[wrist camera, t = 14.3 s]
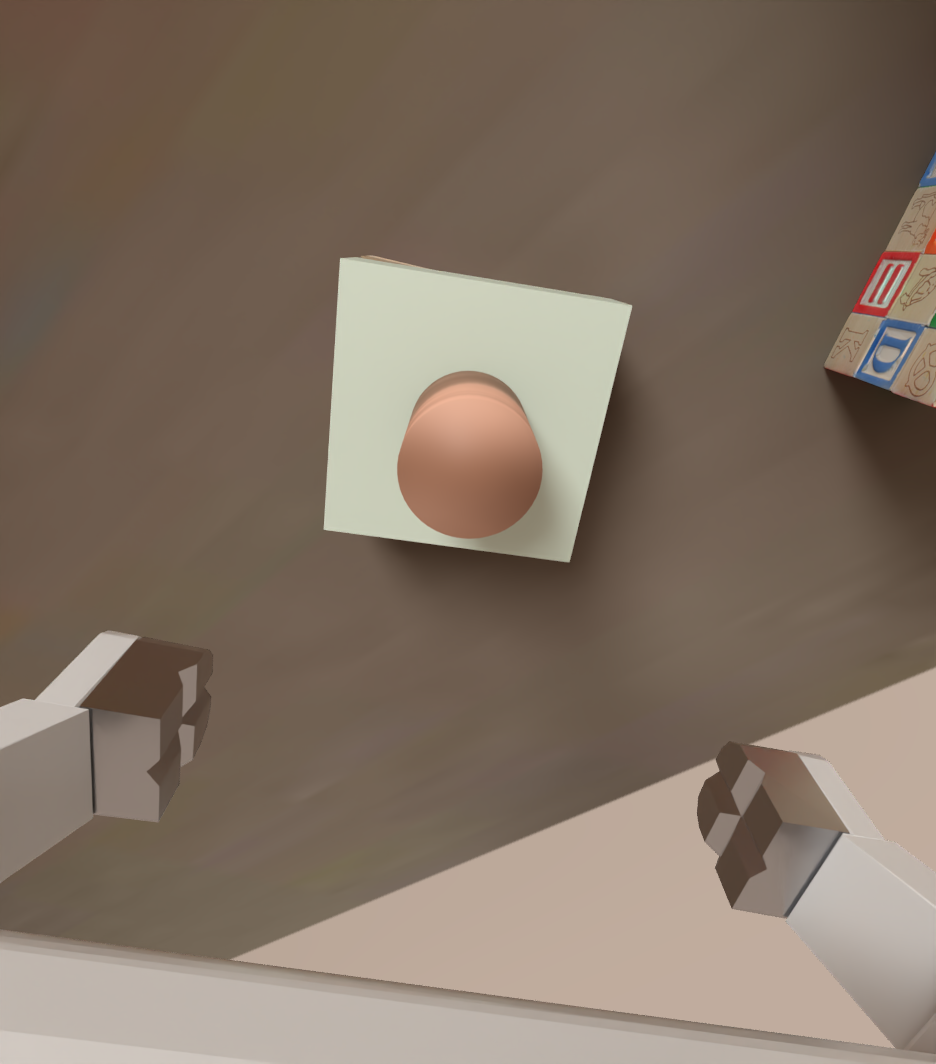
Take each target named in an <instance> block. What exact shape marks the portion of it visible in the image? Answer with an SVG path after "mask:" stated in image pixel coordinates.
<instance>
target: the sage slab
mask: <svg viewBox="0 0 936 1064" xmlns="http://www.w3.org/2000/svg"><path fill="white" fill-rule="evenodd" d="M631 309H632V306H631V305H628V304H625V303H622V302H619V301H616V300H613V299H609V298H603V297H597V296H591V295H585V294H578V293H572V292H566V291H560V290H554V289H548V288H542V287H536V286H529V285H523V284H517V283H511V282H505V281H499V280H493V279H487V278H480V277H474V276H468V275H462V274H456V273H450V272H444V271H437V270H431V269H425V268H419V267H413V266H407V265H401V264H395V263H388V262H382V261H376V260H370V259H364V258H358V257H352V258H340V271H339V287H338V304H337V320H336V337H335V353H334V370H333V386H332V402H331V419H330V435H329V452H328V468H327V485H326V501H325V518H324V530H331V531H338V532H346V533H353V534H361V535H368V536H375V537H383V538H390V539H398V540H405V541H413V542H420V543H428V544H435V545H443V546H450V547H458V548H465V549H472V550H480V551H487V552H495V553H502V554H510V555H517V556H525V557H532V558H540V559H547V560H555V561H562V562H570V558H571V554H572V550H573V546H574V542H575V538H576V534H577V530H578V525H579V521H580V517H581V513H582V509H583V505H584V501H585V497H586V493H587V489H588V485H589V481H590V476H591V472H592V468H593V464H594V460H595V456H596V452H597V448H598V444H599V440H600V436H601V431H602V427H603V423H604V419H605V415H606V411H607V407H608V403H609V399H610V395H611V391H612V387H613V382H614V378H615V374H616V370H617V366H618V362H619V358H620V354H621V350H622V346H623V342H624V338H625V333H626V329H627V325H628V321H629V317H630V313H631ZM459 371H477V372H483V373H486V374H489V375H492V376H494V377H496V378H498V379H499V380H501V381H502V382H504V383H505V384H506V385H507V386H509V387H510V388H511V389H512V391H513V392H514V393H515V394H516V396H517V397H518V399H519V400H520V402H521V405H522V407H523V409H524V411H525V414H526V416H527V419H528V421H529V424H530V426H531V429H532V431H533V433H534V436H535V438H536V441H537V443H538V446H539V449H540V452H541V458H542V468H543V472H542V481H541V485H540V489H539V492H538V494H537V497H536V499H535V501H534V502H533V504H532V506H531V507H530V509H529V510H528V511H527V513H526V514H525V515H524V516H523V517H522V518H521V519H520V520H519V521H517V522H516V523H515V524H514V525H512V526H511V527H509V528H507V529H506V530H504V531H502V532H499V533H497V534H494V535H491V536H488V537H483V538H474V539H465V538H456V537H451V536H448V535H445V534H442V533H440V532H437V531H435V530H434V529H432V528H430V527H428V526H427V525H426V524H424V523H423V522H422V521H420V520H419V519H418V518H417V517H416V516H415V515H414V513H413V512H412V511H411V510H410V508H409V507H408V505H407V503H406V502H405V500H404V498H403V496H402V493H401V491H400V487H399V483H398V476H397V462H398V455H399V452H400V448H401V445H402V442H403V439H404V436H405V433H406V430H407V427H408V424H409V421H410V418H411V415H412V411H413V409H414V406H415V404H416V402H417V400H418V399H419V397H420V395H421V394H422V393H423V392H424V390H425V389H426V388H427V387H428V386H429V385H431V384H432V383H433V382H435V381H436V380H437V379H439V378H441V377H443V376H445V375H448V374H451V373H454V372H459Z"/></svg>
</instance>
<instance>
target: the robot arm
mask: <svg viewBox="0 0 936 1064" xmlns="http://www.w3.org/2000/svg"><path fill="white" fill-rule="evenodd" d="M212 673H213V654H212V652H211V651H210V650H208V649H203V648H198V647H193V646H188V645H183V644H178V643H173V642H168V641H163V640H158V639H153V638H148V637H140V636H136V635H130V634H125V633H120V632H114V631H106V632H103V633H100V634H99V635H98V636H97V637H96V638H95V639H94V640H93V641H92V642H91V643H90V644H89V645H88V646H87V647H86V648H85V649H84V650H83V651H82V652H81V653H80V654H79V655H78V656H77V657H76V658H75V659H74V660H73V661H72V662H71V663H70V664H69V665H68V666H67V667H66V669H65V670H64V671H63V672H62V673H61V674H60V675H59V676H58V677H57V678H56V679H55V680H54V681H53V682H52V683H51V684H50V685H49V686H48V687H47V688H46V689H45V690H44V691H43V692H42V693H41V694H40V695H39V696H38V697H37V698H36V699H35V700H29V699H21V700H18V701H16V702H13V703H10V704H8V705H5V706H3V707H0V883H1V882H2V881H4V880H5V879H6V878H8V877H9V876H11V875H12V874H14V873H15V872H16V871H18V870H19V869H21V868H22V867H24V866H25V865H26V864H28V863H29V862H31V861H32V860H34V859H35V858H37V857H38V856H39V855H41V854H42V853H44V852H45V851H47V850H48V849H49V848H51V847H52V846H54V845H55V844H57V843H58V842H59V841H61V840H62V839H64V838H65V837H67V836H68V835H69V834H71V833H72V832H74V831H75V830H77V829H78V828H80V827H81V826H82V825H84V824H85V823H87V822H88V821H90V820H91V819H92V818H93V814H95V815H103V816H111V817H119V818H128V819H136V820H144V821H152V822H159V820H160V818H161V817H162V815H163V813H164V811H165V809H166V808H167V806H168V804H169V802H170V800H171V799H172V797H173V795H174V793H175V791H176V789H177V788H178V786H179V784H180V767H181V766H183V765H185V764H186V763H188V762H190V761H191V760H193V758H194V756H195V754H196V752H197V750H198V749H199V747H200V745H201V742H202V739H203V736H204V733H205V730H206V728H207V724H208V719H209V714H210V707H211V696H210V694H209V693H208V691H207V690H206V688H205V685H206V683H207V682H208V680H209V678H210V677H211V675H212ZM716 762H717V765H718V767H719V770H720V771H719V772H718V773H716V774H715V775H713V776H712V777H710V778H708V779H707V780H706V781H705V782H704V785H703V787H702V789H701V792H700V794H699V797H698V808H697V816H698V822H699V828H700V830H701V833H702V836H703V838H704V841H705V842H706V843H707V844H708V845H709V846H710V847H711V848H712V849H713V850H714V851H715V852H716V853H717V854H718V855H719V858H718V861H717V864H716V867H715V869H716V871H717V873H718V876H719V878H720V881H721V883H722V886H723V888H724V891H725V893H726V896H727V898H728V900H729V902H730V905H731V908H732V909H736V910H743V911H747V912H753V913H758V914H764V915H770V916H775V917H781V918H786V919H787V920H786V922H787V924H788V925H789V926H790V927H791V928H792V929H793V930H794V932H795V933H796V934H797V935H798V936H799V937H800V939H801V940H802V941H803V942H804V943H805V944H806V946H807V947H808V948H809V949H810V950H811V951H812V952H813V953H814V955H815V956H816V957H817V958H818V959H819V960H820V962H821V963H822V964H823V965H824V966H825V967H826V968H827V970H828V971H829V972H830V973H831V974H832V975H833V976H834V978H835V979H836V980H837V981H838V982H839V983H840V985H841V986H842V987H843V988H844V989H845V990H846V991H847V993H848V994H849V995H850V996H851V997H852V998H853V1000H854V1001H855V1002H856V1003H857V1004H858V1005H859V1006H860V1007H861V1009H862V1010H863V1011H864V1012H865V1013H866V1015H867V1016H868V1017H869V1018H870V1019H871V1020H872V1021H873V1023H874V1024H875V1025H876V1026H877V1027H878V1028H879V1029H880V1031H881V1032H882V1033H883V1034H884V1035H885V1036H886V1037H887V1039H888V1040H889V1041H890V1042H891V1043H892V1044H893V1046H894V1047H895V1048H896V1049H894V1048H886V1047H879V1046H872V1045H864V1044H857V1043H849V1042H842V1041H834V1040H827V1039H820V1038H812V1037H805V1036H796V1035H789V1034H782V1033H774V1032H767V1031H759V1030H751V1029H743V1028H736V1027H729V1026H721V1025H714V1024H706V1023H698V1022H691V1021H683V1020H675V1019H668V1018H660V1017H652V1016H645V1015H638V1014H630V1013H622V1012H615V1011H607V1010H600V1009H593V1008H584V1007H577V1006H570V1005H562V1004H555V1003H546V1002H540V1001H533V1000H525V999H518V998H510V997H502V996H495V995H487V994H480V993H473V992H466V991H458V990H450V989H443V988H436V987H427V986H421V985H413V984H406V983H398V982H391V981H383V980H376V979H368V978H361V977H353V976H346V975H338V974H331V973H323V972H316V971H308V970H301V969H293V968H286V967H278V966H270V965H263V964H255V963H248V962H241V961H233V960H226V959H218V958H211V957H203V956H196V955H188V954H181V953H173V952H166V951H158V950H151V949H143V948H135V947H128V946H120V945H113V944H105V943H98V942H90V941H83V940H75V939H68V938H60V937H53V936H45V935H38V934H30V933H23V932H15V931H8V930H0V1064H936V872H934V871H933V870H932V869H930V868H929V867H928V866H926V865H925V864H924V863H922V862H921V861H920V860H918V859H917V858H916V857H914V856H913V855H912V854H910V853H909V852H908V851H906V850H905V849H904V848H902V847H901V846H899V845H898V844H897V843H896V842H892V841H886V840H885V839H884V838H883V836H882V835H881V833H880V832H879V831H878V829H877V828H876V826H875V825H874V824H873V822H872V821H871V819H870V818H869V817H868V815H867V814H866V813H865V811H864V810H863V808H862V807H861V805H860V804H859V803H858V801H857V800H856V799H855V797H854V796H853V794H852V793H851V791H850V790H849V789H848V787H847V786H846V785H845V783H844V782H843V780H842V779H841V778H840V776H839V775H838V773H837V772H836V770H835V769H834V768H833V766H832V765H831V763H830V762H829V761H828V760H826V759H825V758H823V757H822V756H820V755H816V754H809V753H802V752H796V751H783V750H777V749H772V748H766V747H760V746H754V745H748V744H742V743H736V742H728V743H727V744H726V745H725V746H723V747H722V749H721V751H720V753H719V754H718V756H717V758H716Z"/></svg>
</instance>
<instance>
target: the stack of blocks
mask: <svg viewBox="0 0 936 1064" xmlns="http://www.w3.org/2000/svg"><path fill="white" fill-rule="evenodd" d="M824 367H825V368H826V369H829V370H832V371H835V372H838V373H841V374H844V375H847V376H850V377H853V378H857V379H859V380H862V381H865V382H867V383H870V384H873V385H876V386H878V387H881V388H884V389H886V390H889V391H891V392H892V393H894V394H897V395H900V396H902V397H905V398H909V399H911V400H914V401H917V402H919V403H922V404H926V405H928V406H931V407H934V408H936V152H935V154H934V156H933V158H932V160H931V162H930V164H929V166H928V168H927V170H926V172H925V173H924V175H923V177H922V179H921V181H920V183H919V188H918V189H917V190H916V192H915V194H914V196H913V197H912V199H911V201H910V203H909V205H908V207H907V209H906V211H905V213H904V215H903V217H902V219H901V221H900V223H899V225H898V227H897V229H896V231H895V233H894V234H893V236H892V238H891V240H890V242H889V244H888V246H887V249H886V250H885V252H883V254H882V255H881V257H880V259H879V261H878V263H877V264H876V266H875V268H874V270H873V272H872V274H871V276H870V278H869V280H868V282H867V284H866V286H865V288H864V290H863V291H862V293H861V295H860V297H859V299H858V301H857V303H856V305H855V307H854V309H853V311H852V313H851V315H850V316H849V318H848V320H847V322H846V323H845V325H844V327H843V329H842V331H841V333H840V335H839V337H838V339H837V341H836V343H835V345H834V347H833V348H832V350H831V352H830V354H829V356H828V358H827V360H826V362H825V364H824Z"/></svg>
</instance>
